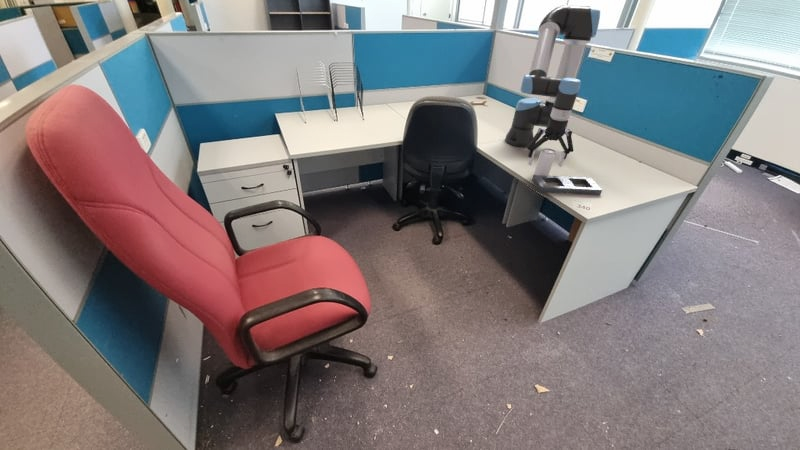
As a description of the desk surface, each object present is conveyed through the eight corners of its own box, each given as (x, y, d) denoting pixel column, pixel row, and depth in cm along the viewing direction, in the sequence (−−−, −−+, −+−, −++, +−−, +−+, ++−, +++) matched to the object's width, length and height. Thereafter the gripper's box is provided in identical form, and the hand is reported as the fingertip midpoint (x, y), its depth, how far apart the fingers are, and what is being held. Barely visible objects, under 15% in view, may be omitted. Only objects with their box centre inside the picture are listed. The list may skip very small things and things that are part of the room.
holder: (531, 179, 150) (533, 175, 148) (588, 182, 149) (591, 177, 148) (539, 192, 141) (540, 187, 139) (600, 195, 141) (602, 189, 139)
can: (545, 179, 150) (553, 155, 143) (531, 174, 154) (538, 150, 147) (550, 175, 154) (558, 150, 147) (537, 170, 158) (544, 146, 151)
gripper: (532, 119, 135) (519, 167, 148) (592, 122, 135) (574, 169, 148) (527, 114, 141) (515, 160, 154) (585, 117, 141) (568, 162, 154)
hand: (544, 164), depth 151 cm, fingers open, 13 cm apart
